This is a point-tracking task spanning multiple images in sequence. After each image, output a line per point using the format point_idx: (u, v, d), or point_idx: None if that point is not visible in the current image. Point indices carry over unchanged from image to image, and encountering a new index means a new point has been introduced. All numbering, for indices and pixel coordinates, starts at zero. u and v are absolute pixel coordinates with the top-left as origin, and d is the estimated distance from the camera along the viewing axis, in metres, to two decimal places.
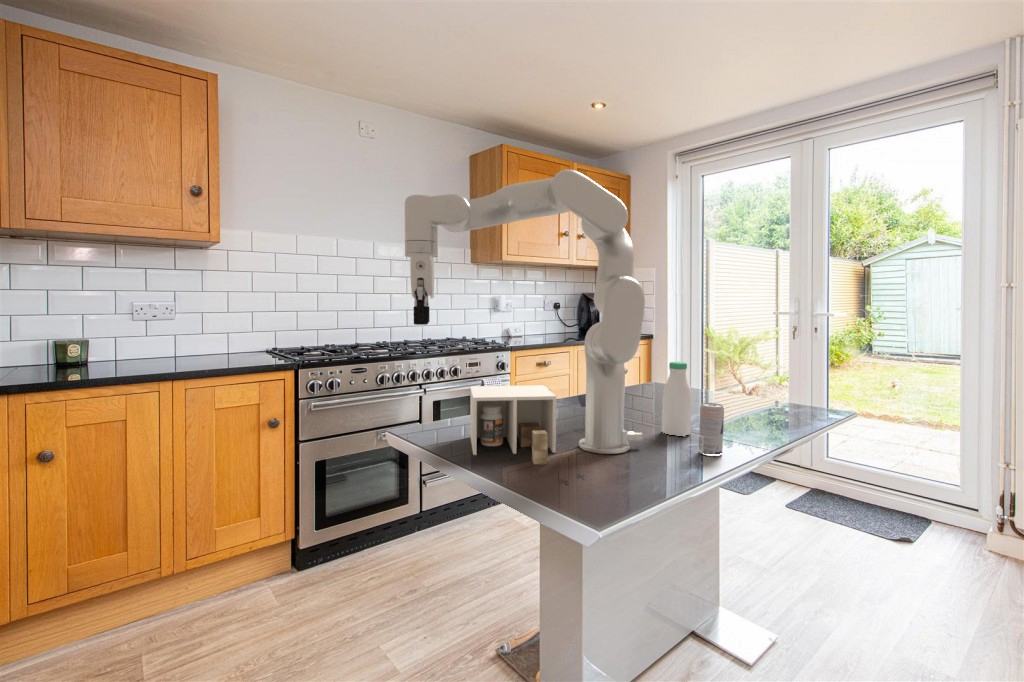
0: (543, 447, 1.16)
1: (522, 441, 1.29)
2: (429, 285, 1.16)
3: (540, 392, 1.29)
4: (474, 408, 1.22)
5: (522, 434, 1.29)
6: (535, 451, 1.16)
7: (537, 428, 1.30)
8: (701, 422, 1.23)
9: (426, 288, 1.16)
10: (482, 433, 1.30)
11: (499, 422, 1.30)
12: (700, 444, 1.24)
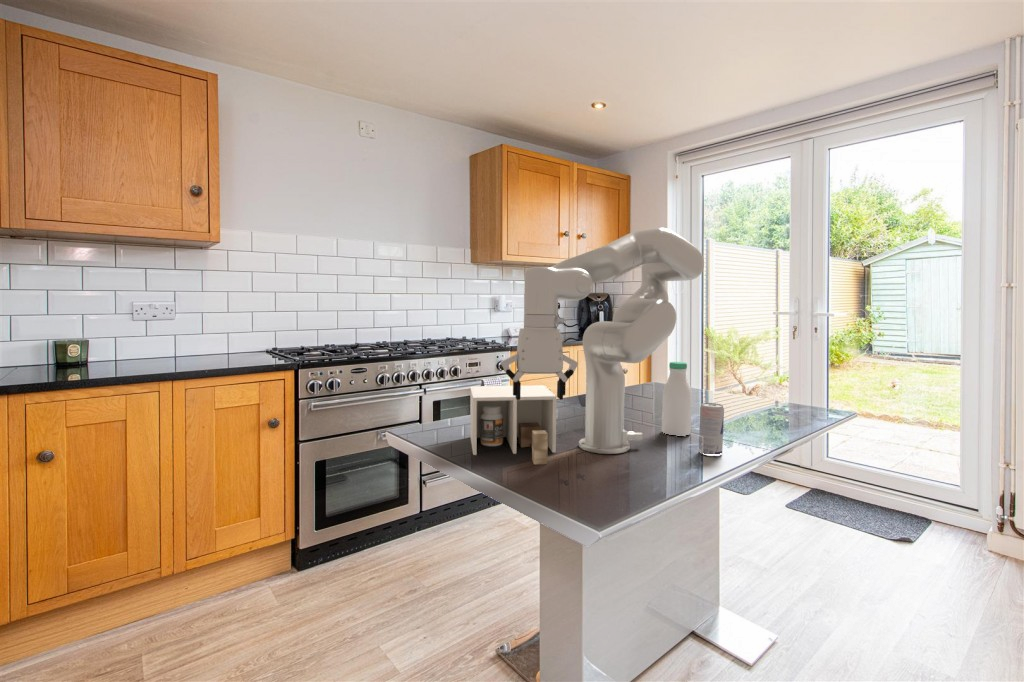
0: (543, 447, 1.16)
1: (522, 441, 1.29)
2: None
3: (540, 392, 1.29)
4: (474, 408, 1.22)
5: (522, 434, 1.29)
6: (535, 451, 1.16)
7: (537, 428, 1.30)
8: (701, 422, 1.23)
9: None
10: (482, 433, 1.30)
11: (499, 422, 1.30)
12: (700, 444, 1.24)
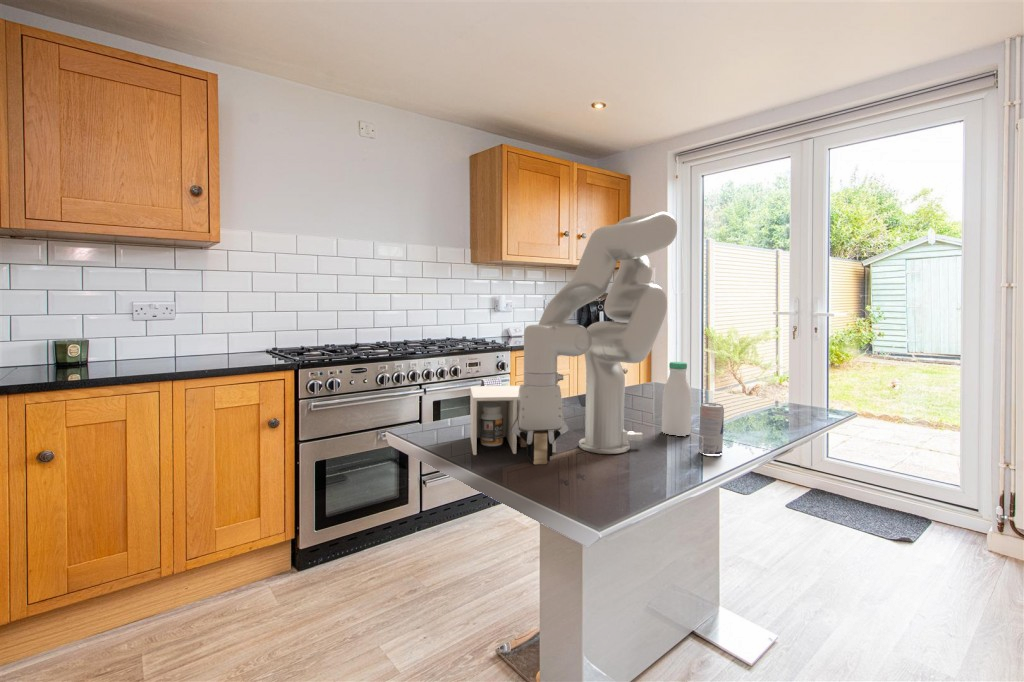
0: (542, 447, 1.16)
1: (522, 441, 1.29)
2: None
3: None
4: (474, 408, 1.22)
5: None
6: (535, 451, 1.16)
7: None
8: (701, 422, 1.23)
9: None
10: (482, 433, 1.30)
11: (499, 422, 1.30)
12: (700, 444, 1.24)
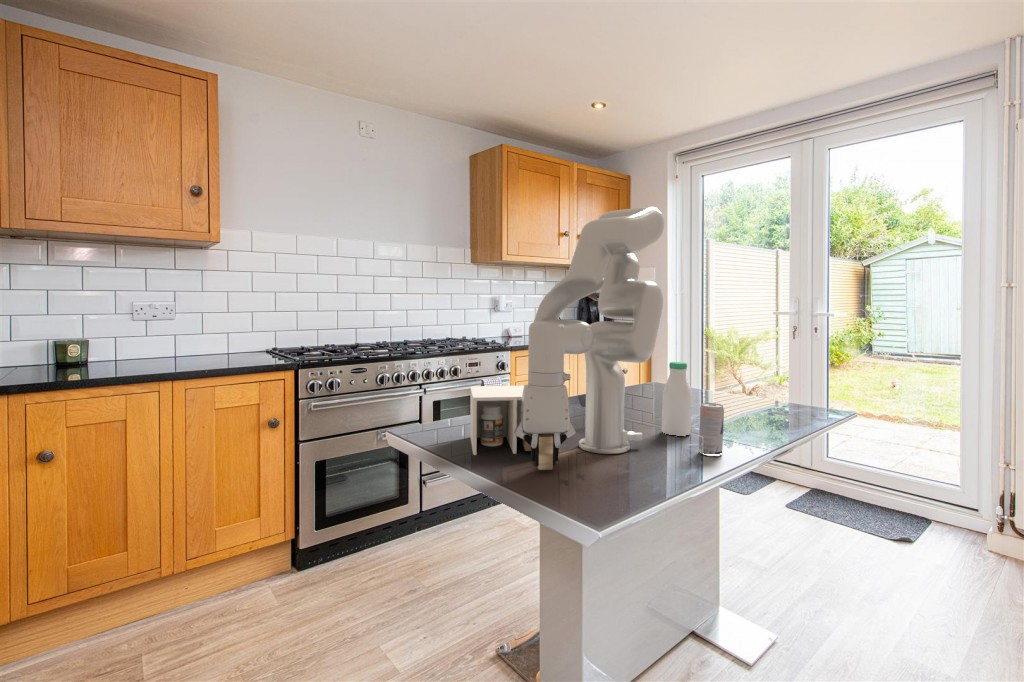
0: (548, 451, 1.09)
1: (526, 445, 1.23)
2: None
3: None
4: (474, 408, 1.22)
5: None
6: (540, 455, 1.09)
7: None
8: (701, 422, 1.23)
9: None
10: (482, 433, 1.30)
11: (499, 422, 1.30)
12: (700, 444, 1.24)
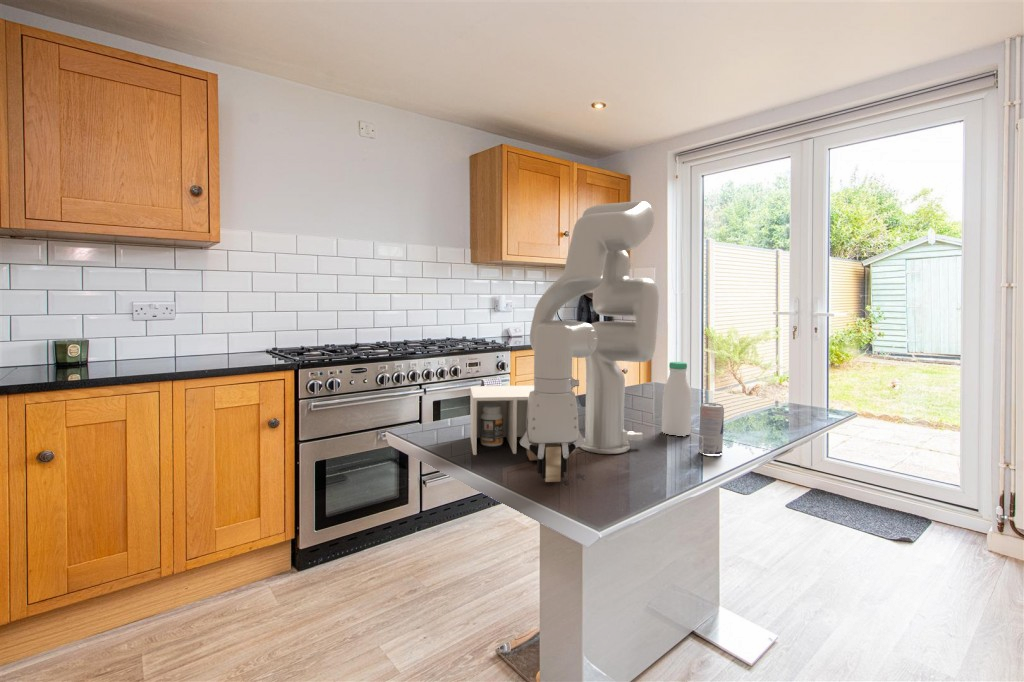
0: (555, 462, 1.02)
1: (531, 454, 1.16)
2: None
3: None
4: (474, 408, 1.22)
5: None
6: (547, 467, 1.02)
7: None
8: (701, 422, 1.23)
9: None
10: (482, 433, 1.30)
11: (499, 422, 1.30)
12: (700, 444, 1.24)
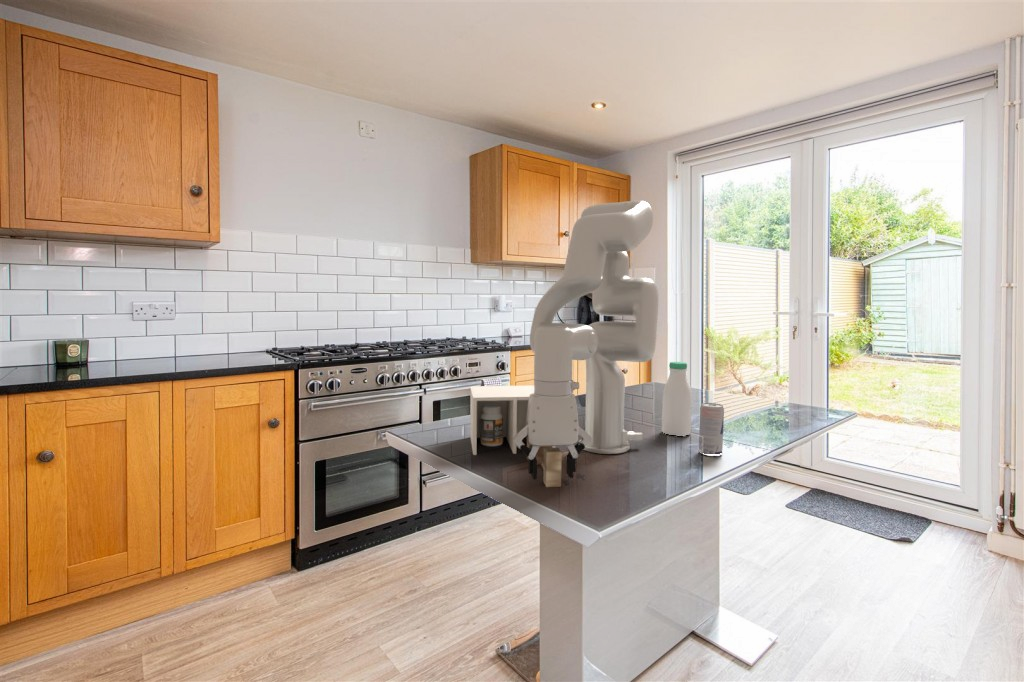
0: (556, 467, 1.02)
1: None
2: None
3: None
4: (474, 408, 1.22)
5: None
6: (547, 472, 1.02)
7: None
8: (701, 422, 1.23)
9: None
10: (482, 433, 1.30)
11: (499, 422, 1.30)
12: (700, 444, 1.24)
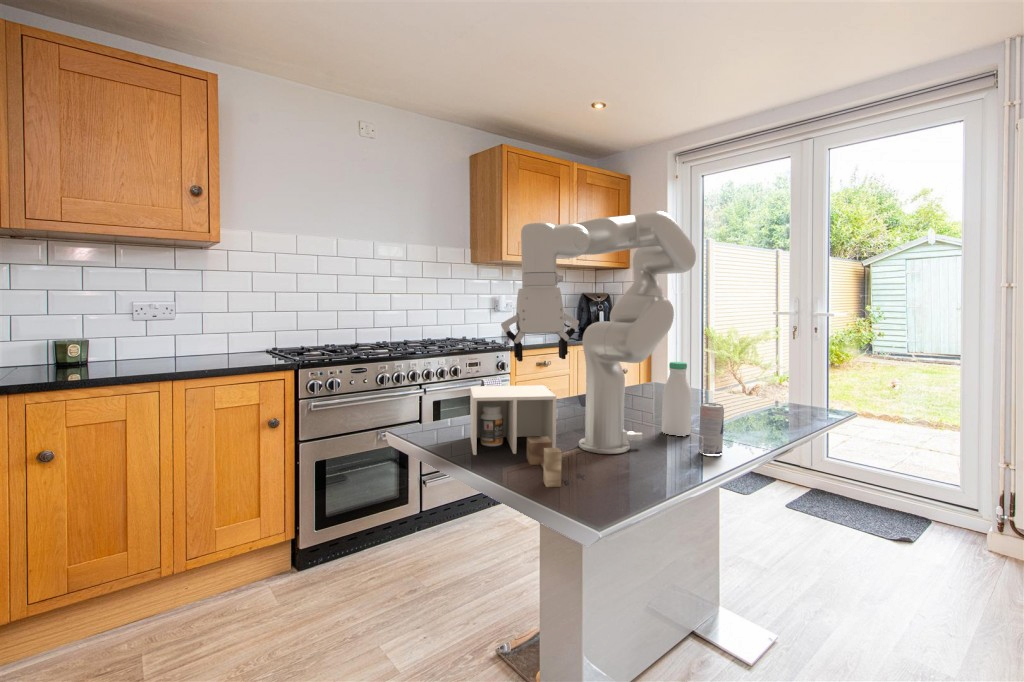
0: (556, 467, 1.02)
1: (531, 458, 1.16)
2: None
3: (540, 392, 1.29)
4: (474, 408, 1.22)
5: (531, 450, 1.15)
6: (547, 472, 1.02)
7: (548, 443, 1.16)
8: (701, 422, 1.23)
9: None
10: (482, 433, 1.30)
11: (499, 422, 1.30)
12: (700, 444, 1.24)
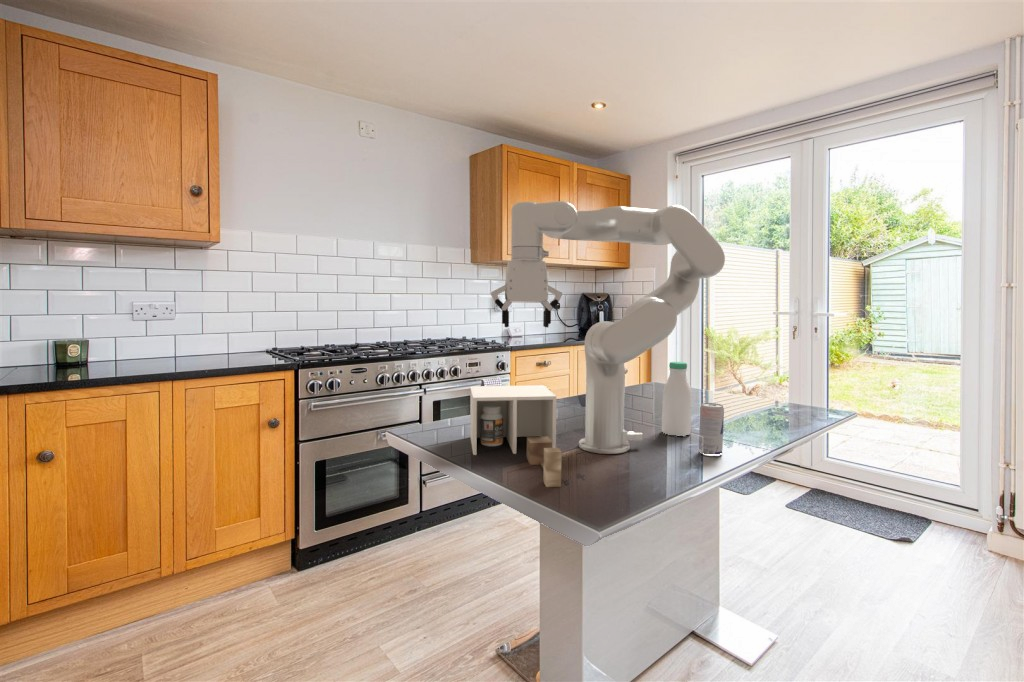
0: (556, 467, 1.02)
1: (531, 458, 1.16)
2: None
3: (540, 392, 1.29)
4: (474, 408, 1.22)
5: (531, 450, 1.15)
6: (547, 472, 1.02)
7: (548, 443, 1.16)
8: (701, 422, 1.23)
9: None
10: (482, 433, 1.30)
11: (499, 422, 1.30)
12: (700, 444, 1.24)
